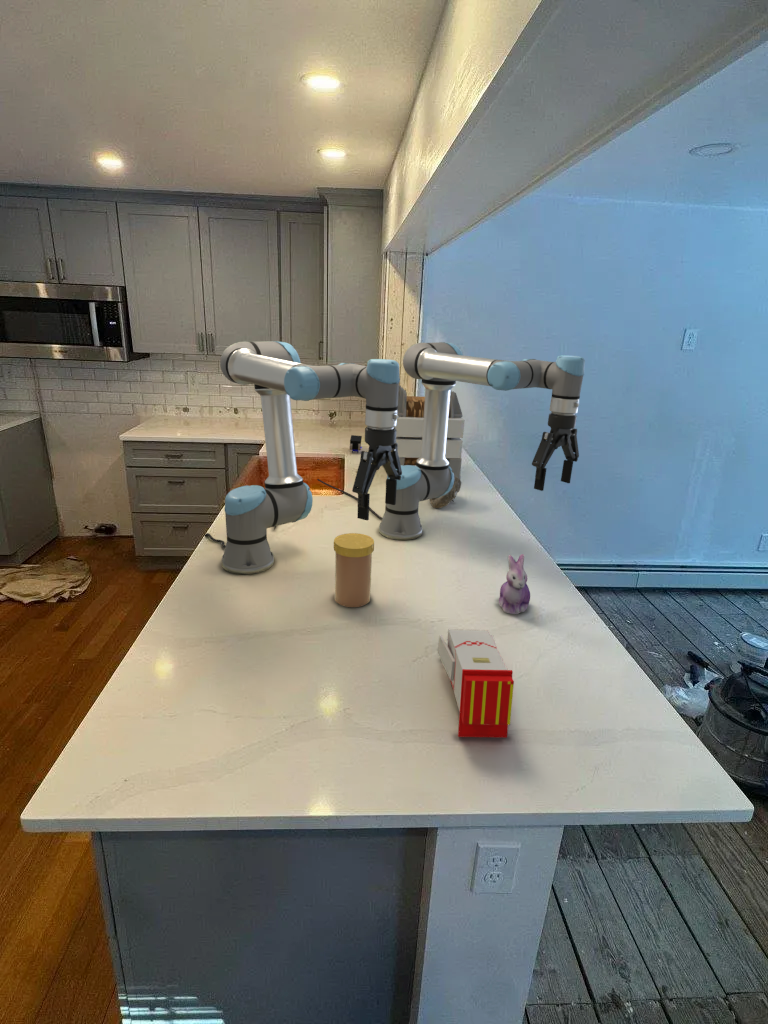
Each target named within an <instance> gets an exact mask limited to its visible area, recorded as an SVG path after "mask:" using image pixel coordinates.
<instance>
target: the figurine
mask: <svg viewBox="0 0 768 1024" xmlns="http://www.w3.org/2000/svg"><path fill="white" fill-rule="evenodd" d="M507 561H508V562H507V563H508V571H507V573H506V576H505V578H506V581H505V582H504V583H503V584H501V586H500V588H499V589H500V590H499V598H498V605H499V607H500V608H501V609H502V611H503V612H504V613H507V614H511V615H518V614H519V613H525V612H526V611H527V609H528V607H529V604H530V601H531V591H530V588H529V585H528V584H527V582H528V575H527V571H526V570H525V568H524V567H525V566H524V563H525V554H524V553H521V554H520V555H519V557H518V558H517V560H515V559H514V557H513V556H512V555H511V554H509V555H508V556H507Z"/></svg>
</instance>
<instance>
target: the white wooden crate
mask: <svg viewBox="0 0 768 1024" xmlns="http://www.w3.org/2000/svg"><path fill="white" fill-rule="evenodd" d="M407 394H408V393H407V390H406V389H404V388H403V387H402V385H400V384H399V393H398V409H397V415H398V418H397V425H396V426H395V427H394V428H396V430H397V432H396V443H397V444H398V455H399V460H400V465H404V466H405V465H413V466H416V461H417V459H418V458H420V457H421V449H422V434H423V419H424V404H425V396H415V395H414V396H413V395H412V396H411V395H407ZM464 429H465V419H464V418H463V411H462V408H461V405H460V402H459V398H458V395H457V392H455V391H453V390H451V392H450V404H449V416H448V428H447V441H446V453H445V458H446V459H447V461H448V462H449V466H450V467H451V469H452V473H454V477H457V478H458V479H460V480H461V472H462V461H463V460H462V453H463V442H464V441H463V440H462V439H463V438H464V431H465V430H464Z"/></svg>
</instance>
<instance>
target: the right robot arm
mask: <svg viewBox="0 0 768 1024" xmlns="http://www.w3.org/2000/svg"><path fill="white" fill-rule="evenodd" d="M585 365H586V360H585V358H584V357H582V356H578V355H566V354H565V355H564V354H563V355H558V356H557V357H556V360H555V361H549V360H541V359H536V358H524V359H521V360H506V359H505V360H504V359H503V360H502V359H496V358H487V357H479V356H471V355H464V354H463V352H462V350H461V349H460V347H459V346H457V345H456V344H455V343H451V342H445V341H443V342H442V341H441V342H440V341H439V342H438V341H437V342H417V343H414V344H412V345H411V346H409V347H408V348H407V350H406V351H405V353H404V355H403V358H402V366H403V369H404V372H405V373H406V374H407V375H408V376H409V377H411V378H412V379H415V380H421V385H422V386H423V387H424V389H425V392H424V397H425V404H424V419H423V434H422V449H421V457H420V458H418V459H417V461H416V466H413V465H401V470H402V475H401V480H397V489H396V505H391V504H386V503H384V505H385V507H384V508H385V509H384V513H383V515H382V517H381V516H380V515H379V514H378V513H376V512H375V511H374V510H373V509H372V508H371V507H370V506H369V512H370V513H372V514H374V515H375V517H377V518H378V519H379V520H381V522H379V525H378V533H379V534H380V535H381V536H382V537H385V538H387V539H389V540H395V541H410V540H415V539H418V538H420V537H421V536H422V535H423V525H422V524H421V517H420V515H419V507H420V506H419V505H420V502H423V501H427V500H428V501H429V500H430V499H432V498H438V497H441V496H443V495H445V494H447V493H448V492H449V491H450V490H451V489H452V487H453V484H454V473H452V469H451V467H450V466H449V462H448V461H447V459H446V458H445V453H446V441H447V428H448V416H449V404H450V392H451V391H452V389H453V388H454V387H455V386H456V384H457V382H461V383H465V384H473V385H479V386H487V387H491V388H492V389H494V390H496V391H503V392H504V391H511V390H520V389H532V388H533V389H534V388H539V389H546V390H551V398H550V404H549V413H548V418H547V419H548V420H547V426H548V427H549V428H550V431H549V432H548V431H543V432H542V435H541V440H540V442H539V445H538V447H537V449H536V452H535V454H534V457H533V460H532V461H531V466H533V467H535V475H534V477H535V478H534V485H533V489H534V490H537V491H539V492H543V491H544V489H545V484H546V483H545V482H546V476H547V468H546V466H547V465H548V463H549V461H550V459H551V457H552V456H553V454H554V453H555V451H556V450H557V449H558V448H560V447H561V449H562V452H563V455H564V458H565V459H563V463H562V468H561V469H562V470H561V475H560V482H562V483H566V484H571V478H572V472H573V466H574V463H576V462H578V461H579V457H580V453H579V444H578V428H576V423H577V419H578V416H577V414H578V412H579V411H578V410H579V406H580V397H581V391H582V385H583V380H584V376H585ZM396 470H397V469H396ZM399 476H400V475H399ZM386 479H390V478H388V476H387V475H386ZM316 481H318V482H319V483H322V484H323V485H325V486H327V487H329V488H332V489H334V490H336V491H338V492H341V493H343V494H345V495H347V496H349V497H351V498H353V499H354V500H356V501H358V497H356V496H354V495H352V494H351V493H348V492H346V491H344V490H343V489H340V488H337V487H335V486H333V485H331V484H329V483H327V482H325V481H322V480H321V479H319V478H317V480H316Z"/></svg>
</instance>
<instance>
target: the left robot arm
mask: <svg viewBox="0 0 768 1024" xmlns="http://www.w3.org/2000/svg"><path fill="white" fill-rule="evenodd" d="M219 361H220V362H219V367H220V371H221V372H222V375H223V376H224V377H225V378H226V379H227V380H228V381H229V382H231V383H234V384H237V385H243V386H248V385H254V387H253V388H254V391H255V392H256V393H257V394H258V395H259V396H260V402H261V413H262V421H263V422H262V424H263V433H264V441H265V450H266V459H267V471H268V476H267V477H266V479H265V480H264V487H263V486H261V485H257V484H252V485H241V486H239V487H236V488H233V489H231V490H230V491H228V493H227V494H226V496H225V499H224V513H225V515H224V517H225V527H226V528H225V530H226V531H225V532H226V542H225V541H224V540H222V539H216V538H214V537H213V536H212V535H211V533H208V532H207V533H205V534H204V538H205V537H207V538H209V539H210V541H213V542H214V543H220V546H221V547H222V548H223V549H224V551H223V554H222V557H221V567H222V568H223V569H224V570H225V571H227V572H228V573H232V574H235V575H253V574H259V573H262V572H266V571H267V570H269V569H270V568H272V567H273V566H274V562H275V561H274V558H275V555H274V553H273V550H272V549H271V546H270V544H269V543H270V542H269V541H268V533H267V531H268V530H267V529H270V528H275V527H274V526H276V527H277V526H282V525H286V524H291V523H296V522H298V521H302V520H304V519H306V518H307V517H309V514H310V513H311V511H312V509H313V508H312V507H313V502H314V501H313V493H312V491H311V490H310V489H311V488H310V486H309V485H308V484H307V483H306V482H304V478H303V477H302V476H301V475H300V474H299V472H298V466H297V455H296V445H295V444H296V443H295V435H294V434H295V433H294V423H293V422H294V421H293V412H292V400H293V401H301V402H302V401H303V402H309V401H314V400H323V399H336V398H337V399H338V398H347V397H349V398H350V397H355V398H356V397H357V398H362V399H365V415H364V417H365V418H364V425H365V426H366V427H365V428H364V442H365V443H366V444H367V445H368V451H366V450H361V451H360V457H359V458H360V460H359V464H358V467H357V470H356V475H355V478H354V482H353V486H352V490H351V491H352V493H354V494H357V498H358V500H357V518H356V519H360V520H363V521H369V520H370V510H369V507H370V496H371V495H370V493H369V490H370V487H371V486H372V484H373V481H374V479H375V476H376V474H377V472H378V471H379V470H380V469H381V467H383V469H384V472H385V473H386V477H387V476H388V478H390V479H387V478H386V479H385V496H384V497H385V499H384V504H391V505H396V489H397V480H401V475H402V470H401V465H400V460H399V455H398V444H397V443H396V432H397V430H396V428H394V427H395V426H396V425H397V418H398V415H397V409H398V393H399V385H400V382H401V378H400V363H399V362H398V361H397V360H394V359H386V358H371V359H368V360H367V364H366V365H362V364H357V363H355V362H341V363H338V364H329V365H311V364H305V363H301V359H300V355H299V353H298V351H297V350H296V349H295V347H294V346H293V345H292V344H291V343H288V342H286V341H279V340H278V341H277V340H272V341H271V340H269V341H267V340H266V341H237V342H234V343H232V344H231V345H229V346H227V347H226V348H225V349H224V350H223V351H222V354H221V356H220V360H219ZM396 469H397V470H396ZM399 475H400V476H399Z"/></svg>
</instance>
